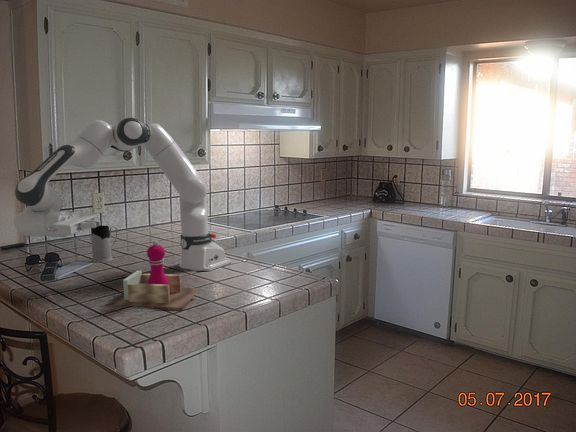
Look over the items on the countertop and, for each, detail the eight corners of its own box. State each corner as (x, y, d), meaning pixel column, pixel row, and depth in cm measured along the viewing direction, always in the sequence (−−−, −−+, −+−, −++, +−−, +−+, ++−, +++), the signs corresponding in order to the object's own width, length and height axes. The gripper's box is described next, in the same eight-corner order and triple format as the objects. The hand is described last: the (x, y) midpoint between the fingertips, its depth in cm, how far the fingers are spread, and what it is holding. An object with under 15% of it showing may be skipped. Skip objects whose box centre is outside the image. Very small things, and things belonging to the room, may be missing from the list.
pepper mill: (171, 293, 186) (168, 238, 182) (166, 300, 179) (163, 243, 175) (150, 294, 186) (147, 238, 182) (145, 301, 179) (141, 243, 175)
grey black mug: (87, 261, 234) (84, 228, 231) (111, 253, 247) (109, 222, 244) (101, 263, 230) (99, 229, 227) (125, 255, 242) (123, 223, 240)
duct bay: (113, 307, 176) (111, 287, 174) (138, 288, 195) (136, 270, 194) (182, 310, 172) (181, 289, 171) (201, 290, 192) (200, 272, 190)
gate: (124, 299, 179) (123, 280, 178) (138, 289, 190) (137, 270, 189) (128, 300, 179) (127, 280, 178) (142, 289, 190) (141, 270, 189)
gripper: (42, 221, 174) (81, 221, 172) (74, 210, 194) (110, 210, 192) (44, 239, 175) (83, 240, 174) (76, 227, 195) (111, 227, 193)
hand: (97, 224), depth 183 cm, fingers closed
